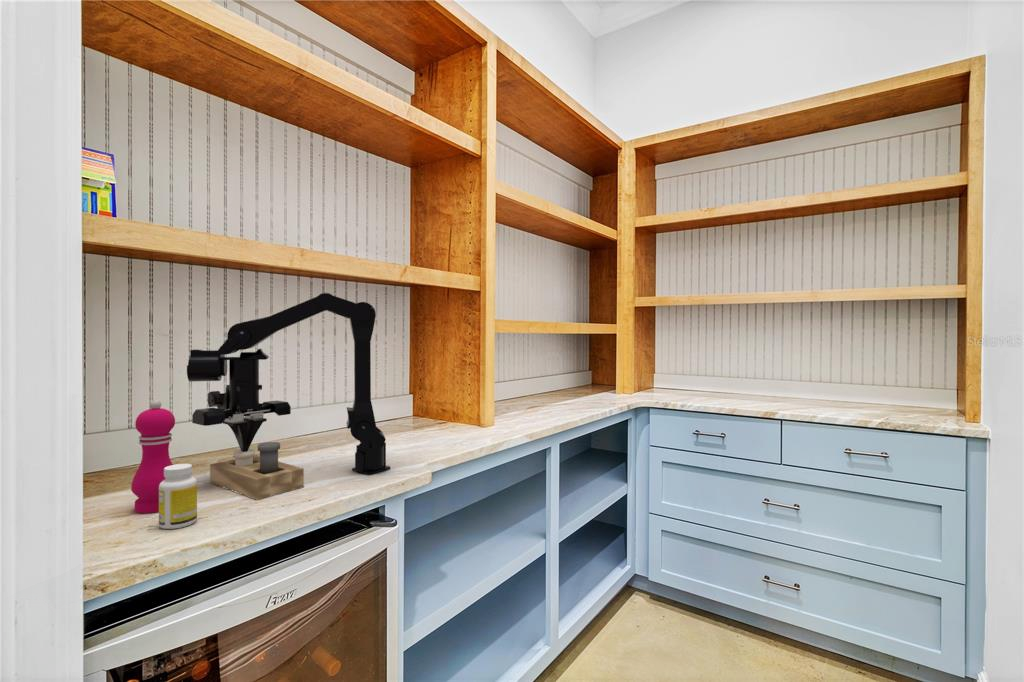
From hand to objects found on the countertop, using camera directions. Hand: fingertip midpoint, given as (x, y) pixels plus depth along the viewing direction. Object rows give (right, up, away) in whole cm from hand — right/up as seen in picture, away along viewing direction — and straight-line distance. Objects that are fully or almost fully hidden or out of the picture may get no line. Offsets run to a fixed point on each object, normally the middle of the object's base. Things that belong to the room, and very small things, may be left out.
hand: (244, 451), depth 109 cm
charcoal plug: (+8, -3, -6) cm, 10 cm away
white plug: (0, -6, 0) cm, 6 cm away
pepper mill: (-7, -7, -17) cm, 20 cm away
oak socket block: (+4, -7, -3) cm, 8 cm away
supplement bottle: (+2, -7, -24) cm, 25 cm away
